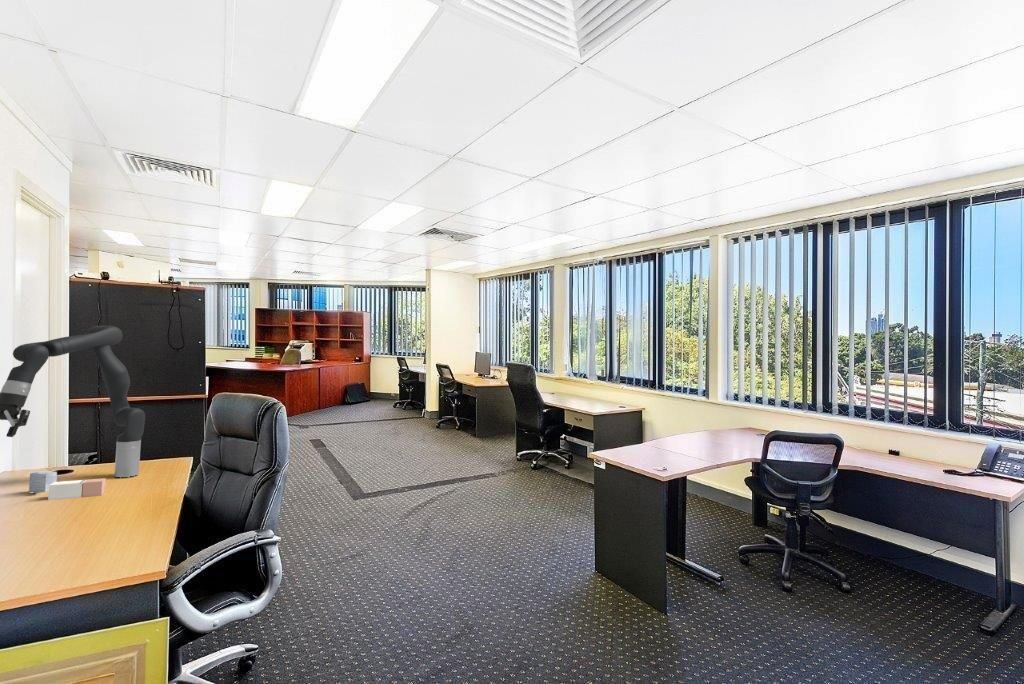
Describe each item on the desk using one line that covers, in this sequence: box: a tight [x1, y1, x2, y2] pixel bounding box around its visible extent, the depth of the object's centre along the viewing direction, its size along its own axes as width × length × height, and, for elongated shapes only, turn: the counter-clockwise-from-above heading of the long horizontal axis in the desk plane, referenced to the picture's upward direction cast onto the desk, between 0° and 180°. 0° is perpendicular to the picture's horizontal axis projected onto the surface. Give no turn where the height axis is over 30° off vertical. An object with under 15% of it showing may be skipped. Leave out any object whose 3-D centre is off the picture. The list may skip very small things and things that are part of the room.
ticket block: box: [47, 479, 87, 501], centre depth 187 cm, size 5×10×6 cm, turn 119°
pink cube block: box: [81, 477, 107, 498], centre depth 191 cm, size 5×6×6 cm
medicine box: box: [28, 470, 58, 494], centre depth 195 cm, size 8×4×9 cm, turn 84°
